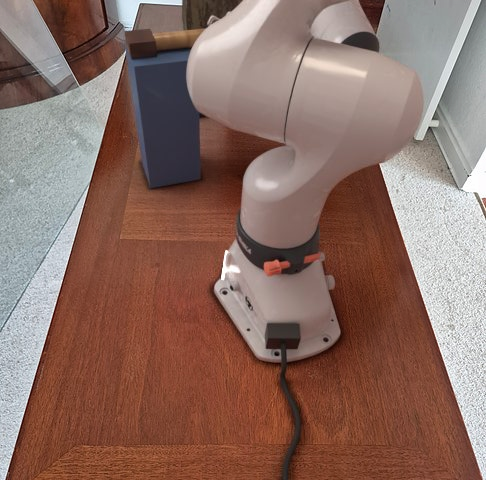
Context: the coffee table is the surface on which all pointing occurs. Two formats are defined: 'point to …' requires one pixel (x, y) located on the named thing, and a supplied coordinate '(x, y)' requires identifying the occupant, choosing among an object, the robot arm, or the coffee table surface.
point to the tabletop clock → (204, 11)
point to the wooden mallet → (158, 41)
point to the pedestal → (165, 117)
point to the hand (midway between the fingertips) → (217, 33)
